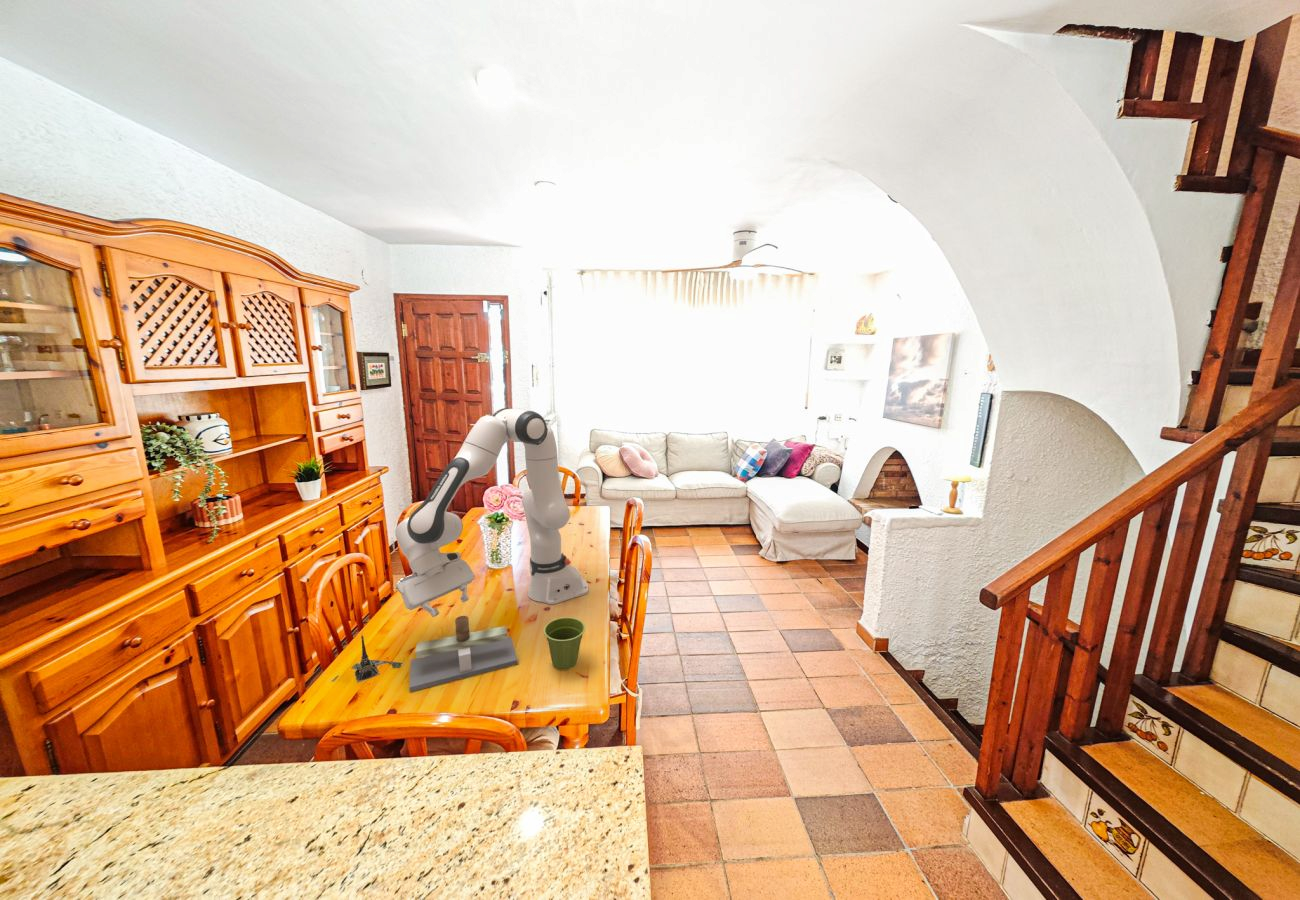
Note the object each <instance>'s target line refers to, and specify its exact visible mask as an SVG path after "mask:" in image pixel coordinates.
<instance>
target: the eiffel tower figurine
mask: <svg viewBox="0 0 1300 900" xmlns="http://www.w3.org/2000/svg"><path fill="white" fill-rule="evenodd" d="M360 639H361V653H362V654H361V656H360V658H361V661H359V662H357V663H355V664H354V665H352V666H351V667H350V669H352V670H355V671H354V672H353V673H354V676H355V681H356V683H357V684H358V683H360V682H361V683H362V682H363V681H366V680H369V679H371V678H374V677H377V676H380V672H379V669H378V666H381V665H384V664H390V665H391V668H392V669H400V668H401V667H402V666H403V665H404V662H398V661H397V662H396V661H386V660H377V659H376V660H375V659H370V658H369V655H368V654H367V651H366V645H365V640H364V639H365V638H364V635H363V634H361V636H360ZM339 676H340V675H339V674H337V675H336V676H335V677H334V678H333V679H331V682H332V683H334V682H335V681H336V680H337V679H338V678H339Z"/></svg>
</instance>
